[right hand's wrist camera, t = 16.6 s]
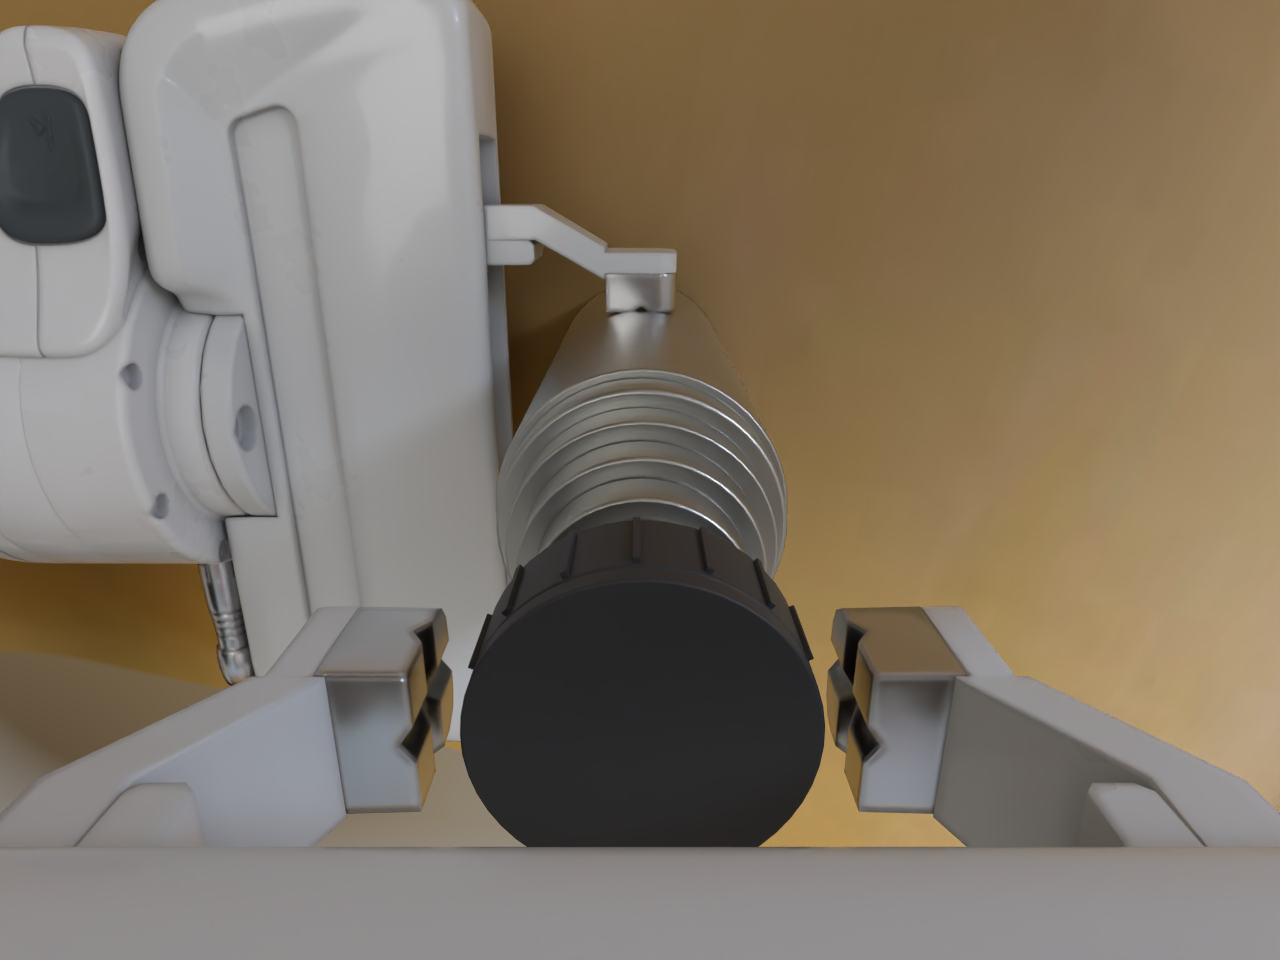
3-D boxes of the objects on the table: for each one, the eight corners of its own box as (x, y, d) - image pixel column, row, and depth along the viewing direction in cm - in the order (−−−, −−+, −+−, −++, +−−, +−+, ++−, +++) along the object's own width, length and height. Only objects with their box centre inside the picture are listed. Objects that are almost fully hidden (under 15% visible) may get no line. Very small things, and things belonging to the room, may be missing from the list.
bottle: (749, 333, 27) (977, 638, 9) (668, 463, 28) (717, 950, 10) (610, 250, 26) (542, 399, 8) (534, 390, 27) (331, 783, 9)
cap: (586, 455, 9) (575, 506, 8) (865, 618, 10) (903, 693, 8) (428, 704, 10) (393, 790, 9) (688, 833, 11) (694, 932, 9)
